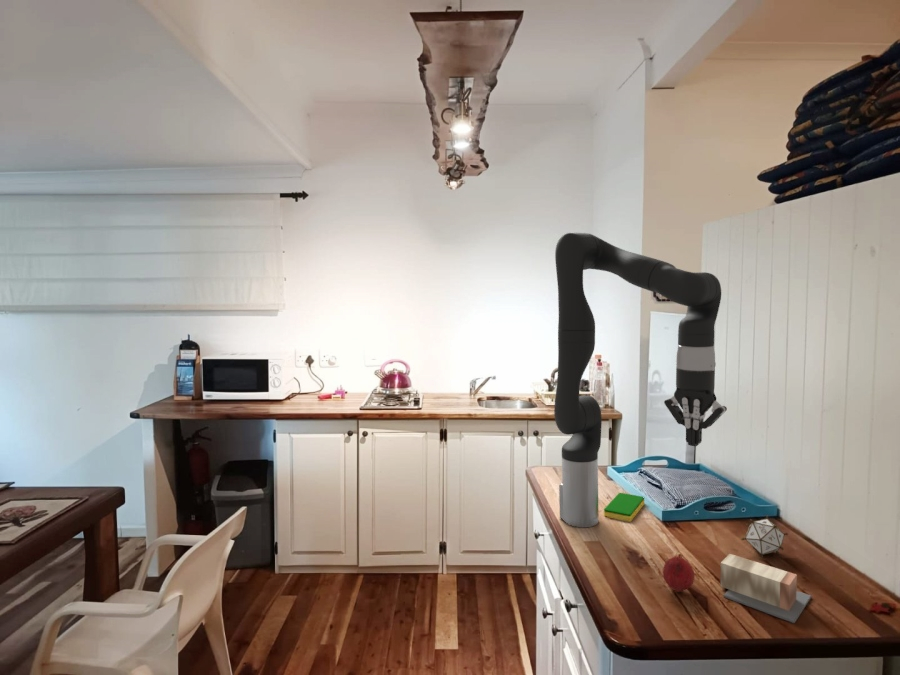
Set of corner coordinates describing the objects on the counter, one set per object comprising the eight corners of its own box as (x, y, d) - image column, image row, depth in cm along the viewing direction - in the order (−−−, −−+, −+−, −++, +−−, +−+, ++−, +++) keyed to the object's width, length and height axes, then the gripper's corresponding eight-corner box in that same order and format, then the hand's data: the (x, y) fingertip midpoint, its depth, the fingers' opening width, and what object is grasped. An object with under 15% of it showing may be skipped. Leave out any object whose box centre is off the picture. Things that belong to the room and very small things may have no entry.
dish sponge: (603, 517, 143) (603, 509, 143) (619, 500, 155) (619, 492, 155) (630, 523, 139) (630, 514, 139) (644, 504, 151) (644, 496, 150)
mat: (723, 597, 104) (723, 594, 104) (743, 575, 112) (743, 573, 112) (794, 623, 96) (794, 620, 96) (810, 597, 103) (810, 595, 103)
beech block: (720, 562, 107) (789, 585, 98) (729, 553, 110) (796, 574, 102) (720, 586, 107) (788, 610, 99) (729, 576, 111) (796, 599, 102)
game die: (773, 572, 120) (800, 550, 113) (735, 556, 121) (759, 534, 114) (769, 538, 126) (793, 515, 120) (733, 524, 128) (755, 501, 121)
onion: (691, 603, 103) (692, 563, 102) (660, 595, 106) (660, 556, 105) (696, 588, 108) (696, 550, 107) (665, 581, 111) (665, 544, 110)
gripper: (657, 365, 116) (656, 442, 118) (720, 372, 106) (718, 456, 108) (673, 361, 121) (671, 435, 123) (735, 367, 111) (732, 447, 113)
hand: (693, 445), depth 115 cm, fingers closed
